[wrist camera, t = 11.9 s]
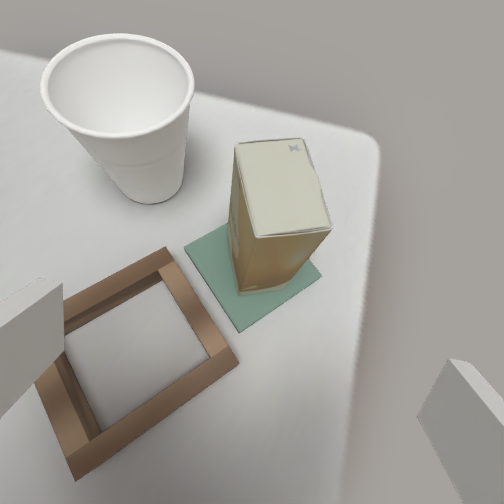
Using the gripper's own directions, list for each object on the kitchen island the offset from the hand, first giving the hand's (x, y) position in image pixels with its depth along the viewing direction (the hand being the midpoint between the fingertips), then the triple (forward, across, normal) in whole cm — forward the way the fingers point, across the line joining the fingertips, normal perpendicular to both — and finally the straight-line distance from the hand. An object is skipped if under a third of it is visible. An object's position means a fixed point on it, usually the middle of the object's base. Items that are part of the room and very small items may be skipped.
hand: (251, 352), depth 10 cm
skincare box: (+17, 0, -4) cm, 17 cm away
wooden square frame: (+11, -8, -11) cm, 17 cm away
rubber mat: (+17, 0, -4) cm, 18 cm away
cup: (+22, -11, 0) cm, 25 cm away
